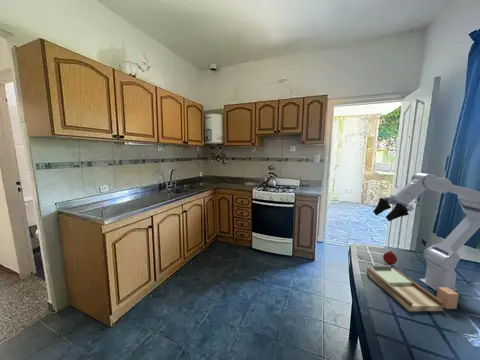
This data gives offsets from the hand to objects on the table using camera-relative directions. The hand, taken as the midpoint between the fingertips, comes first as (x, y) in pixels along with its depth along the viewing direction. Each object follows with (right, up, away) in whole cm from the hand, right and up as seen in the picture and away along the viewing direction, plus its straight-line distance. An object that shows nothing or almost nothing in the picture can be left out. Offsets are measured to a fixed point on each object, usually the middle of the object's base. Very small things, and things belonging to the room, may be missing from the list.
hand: (380, 216), depth 88 cm
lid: (+8, -29, +6) cm, 30 cm away
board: (+8, -31, +1) cm, 32 cm away
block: (+20, -33, -8) cm, 39 cm away
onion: (+18, -29, +21) cm, 40 cm away
